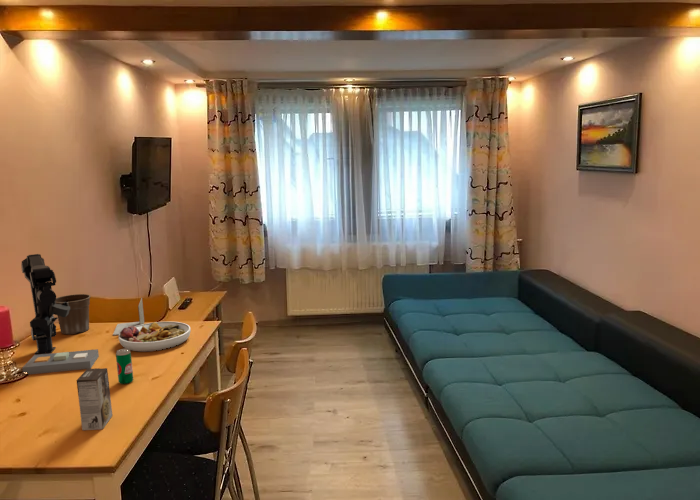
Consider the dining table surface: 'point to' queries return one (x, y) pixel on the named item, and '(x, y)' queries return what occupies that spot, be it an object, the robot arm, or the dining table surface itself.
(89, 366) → the panel
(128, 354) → the soda can
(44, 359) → the orange button
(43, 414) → the dining table surface
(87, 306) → the plant pot
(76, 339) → the dining table surface
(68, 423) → the dining table surface
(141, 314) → the laptop
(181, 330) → the bowl
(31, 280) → the robot arm
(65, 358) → the sage button
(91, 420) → the coffee box
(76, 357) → the off white button
